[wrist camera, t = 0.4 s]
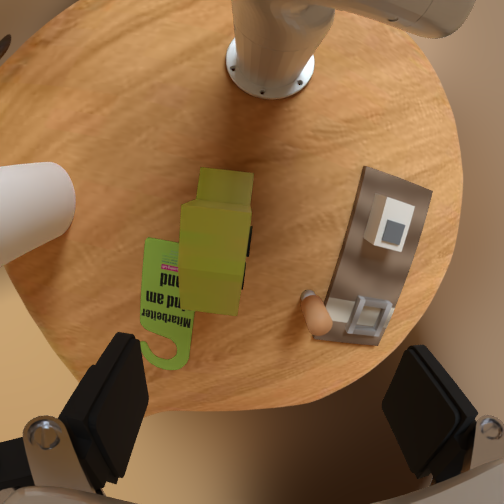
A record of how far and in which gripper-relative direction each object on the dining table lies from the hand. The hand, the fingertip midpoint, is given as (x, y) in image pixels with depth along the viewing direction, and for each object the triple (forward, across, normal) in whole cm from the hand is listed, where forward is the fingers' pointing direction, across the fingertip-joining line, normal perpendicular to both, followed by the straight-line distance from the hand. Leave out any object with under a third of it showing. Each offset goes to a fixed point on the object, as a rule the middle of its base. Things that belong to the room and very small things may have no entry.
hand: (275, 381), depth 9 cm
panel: (+34, -20, +7) cm, 41 cm away
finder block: (+33, -20, -1) cm, 39 cm away
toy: (+35, +4, +2) cm, 35 cm away
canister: (+35, +36, 0) cm, 50 cm away
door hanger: (+35, +13, +18) cm, 42 cm away
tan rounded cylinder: (+34, -10, +13) cm, 38 cm away
